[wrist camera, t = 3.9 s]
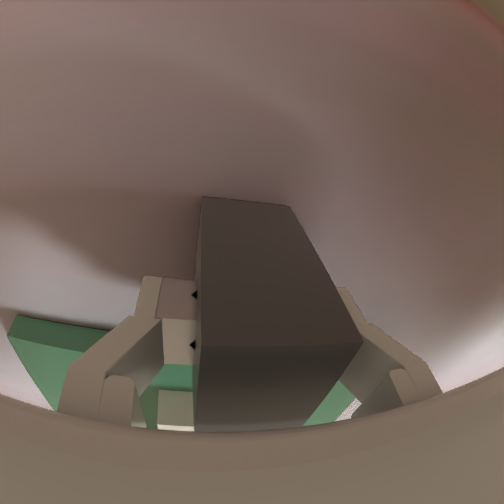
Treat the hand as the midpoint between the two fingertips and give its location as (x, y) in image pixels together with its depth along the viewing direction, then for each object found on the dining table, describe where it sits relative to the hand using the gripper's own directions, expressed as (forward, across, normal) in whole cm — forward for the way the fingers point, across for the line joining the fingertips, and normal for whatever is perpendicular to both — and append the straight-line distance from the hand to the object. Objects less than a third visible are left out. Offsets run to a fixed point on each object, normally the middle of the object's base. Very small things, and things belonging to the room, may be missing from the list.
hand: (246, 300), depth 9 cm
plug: (+3, 0, 0) cm, 3 cm away
